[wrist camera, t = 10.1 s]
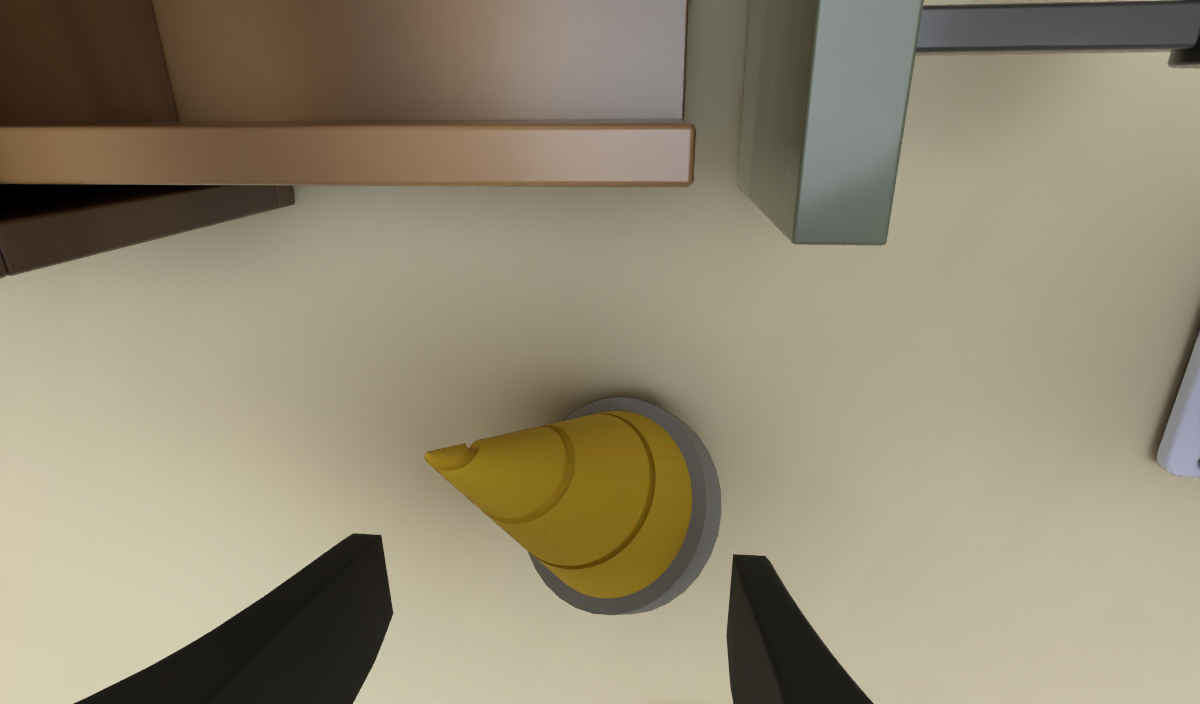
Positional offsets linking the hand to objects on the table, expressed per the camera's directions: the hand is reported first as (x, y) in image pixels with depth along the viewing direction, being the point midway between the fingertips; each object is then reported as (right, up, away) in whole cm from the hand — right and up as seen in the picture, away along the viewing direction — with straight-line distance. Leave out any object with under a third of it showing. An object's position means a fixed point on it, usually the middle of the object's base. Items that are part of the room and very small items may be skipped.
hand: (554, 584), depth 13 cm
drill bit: (+1, +2, +6) cm, 6 cm away
